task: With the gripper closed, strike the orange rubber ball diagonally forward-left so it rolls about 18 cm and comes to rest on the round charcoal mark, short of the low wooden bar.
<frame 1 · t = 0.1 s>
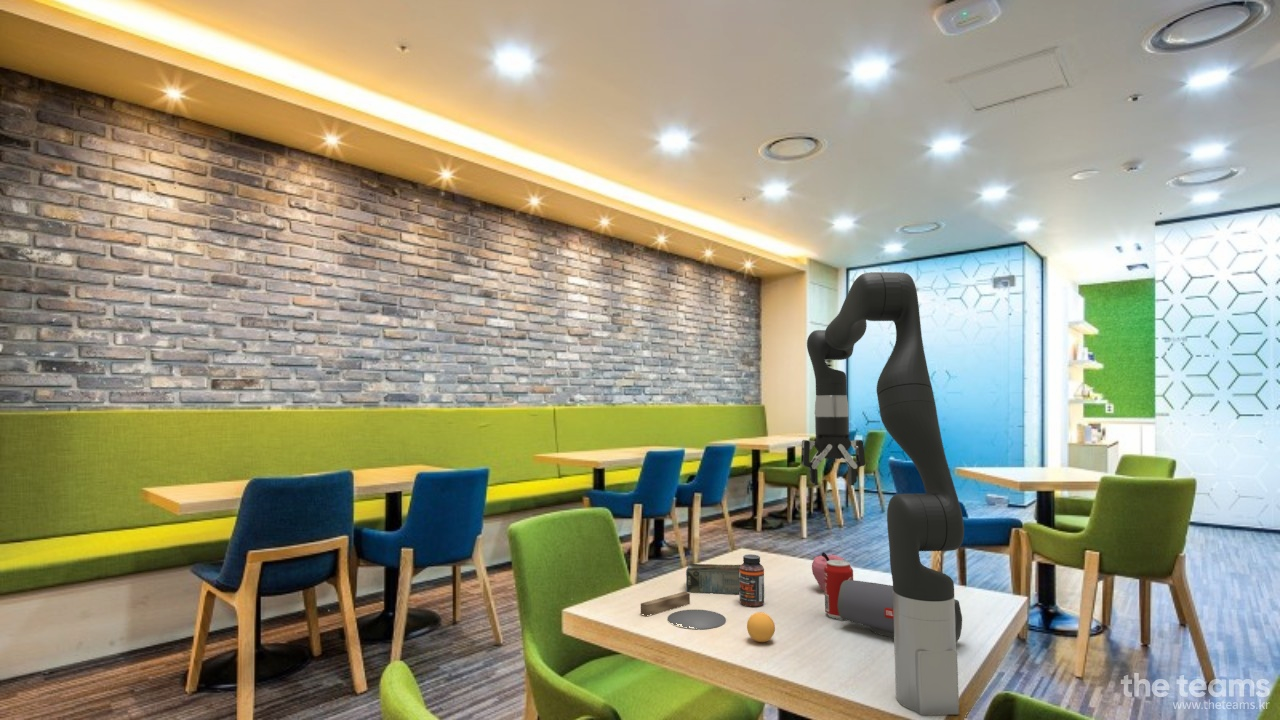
hand: (833, 485, 153), 29 cm above the table, tool pointing down, fingers open, 8 cm apart
mark: (696, 619, 147), on the table
ball: (760, 627, 134), on the table
bluetooth speaker: (898, 637, 136), on the table
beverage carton: (723, 591, 170), on the table
beverage can: (839, 617, 149), on the table
wooden bar: (665, 609, 155), on the table
supplement bottle: (751, 604, 159), on the table
apple: (829, 591, 169), on the table
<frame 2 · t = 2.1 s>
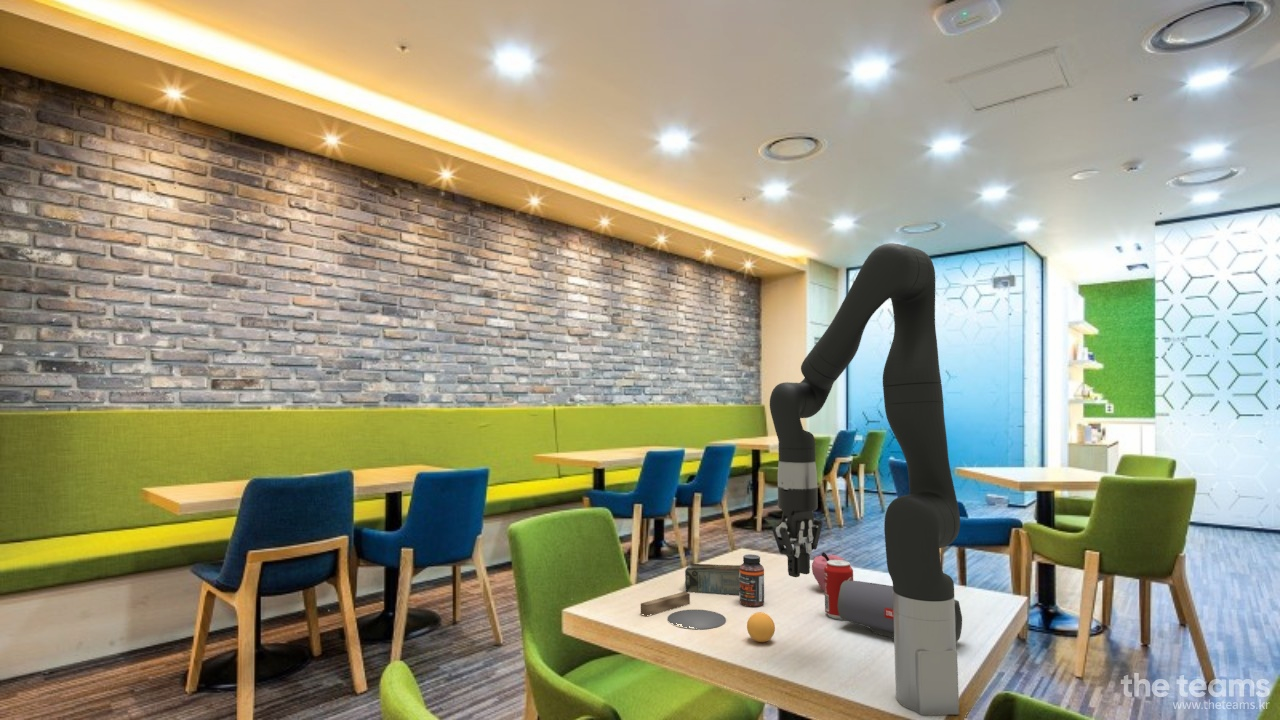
hand: (799, 574, 127), 15 cm above the table, tool pointing down, fingers closed
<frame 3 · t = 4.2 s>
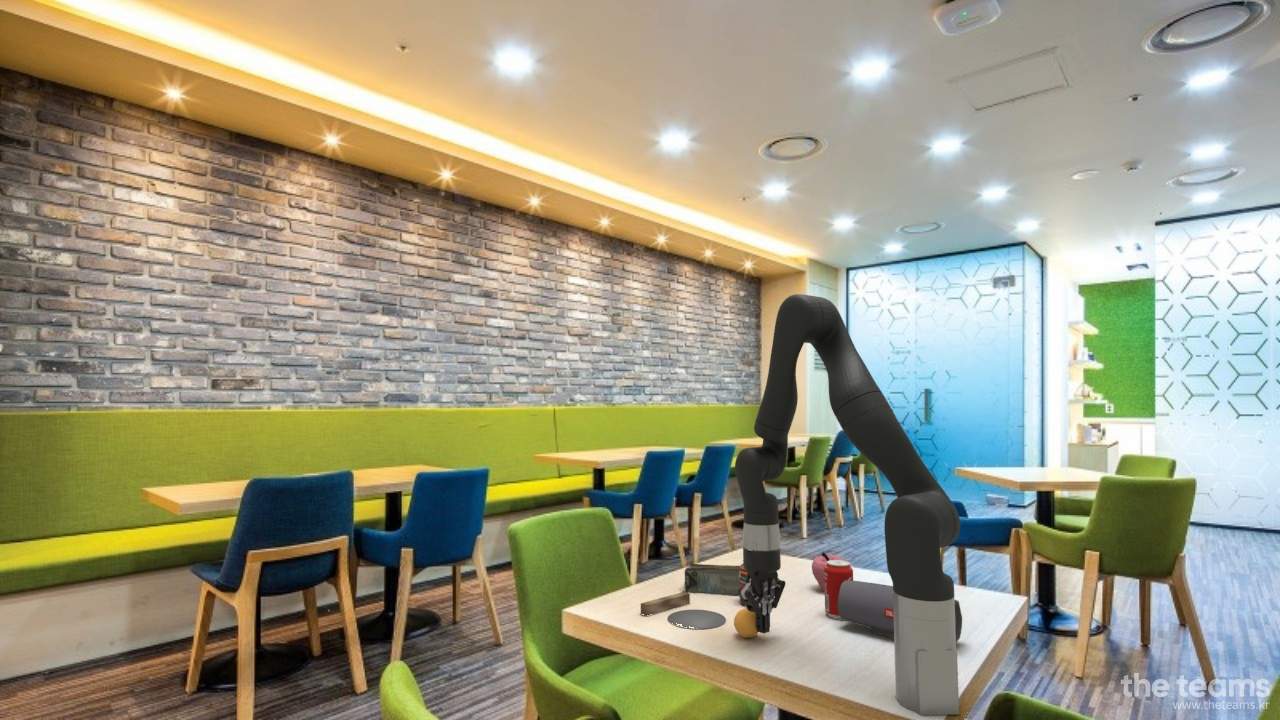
hand: (763, 631, 133), 2 cm above the table, tool pointing down, fingers closed
ball: (747, 622, 136), on the table, touching gripper
everything else where it was.
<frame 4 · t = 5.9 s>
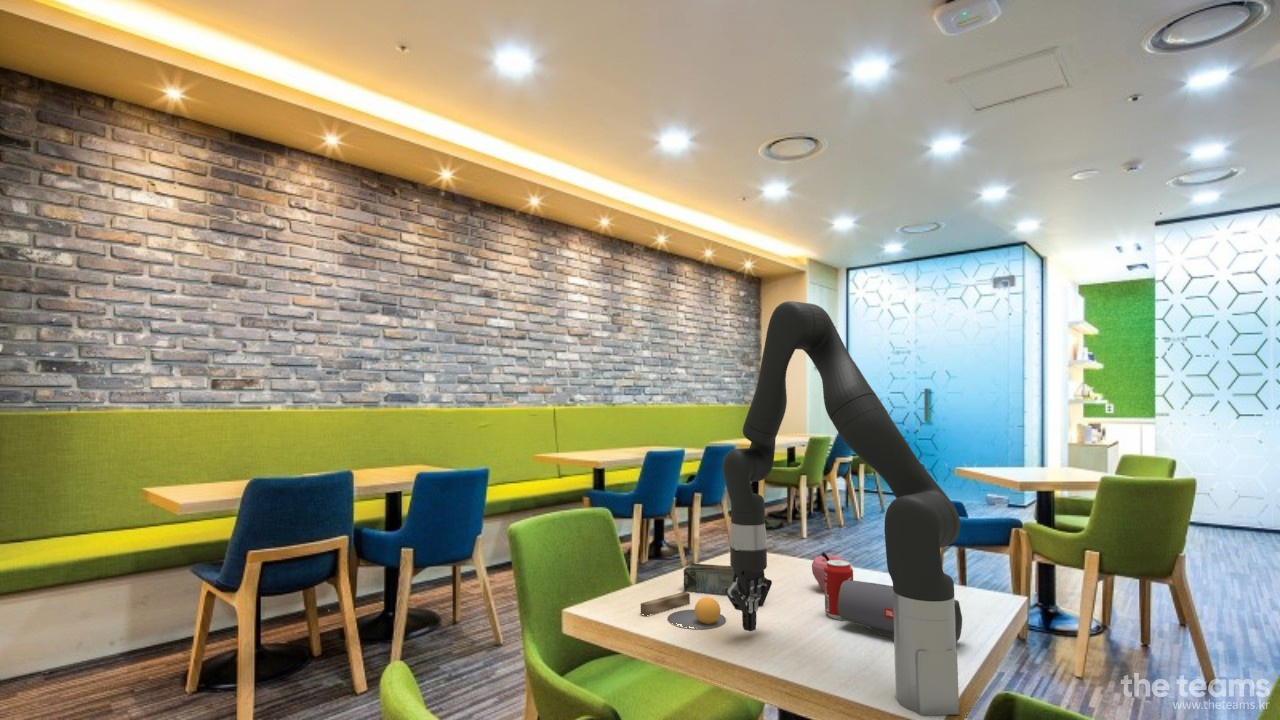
hand: (749, 629, 136), 2 cm above the table, tool pointing down, fingers closed
ball: (707, 610, 145), on the table
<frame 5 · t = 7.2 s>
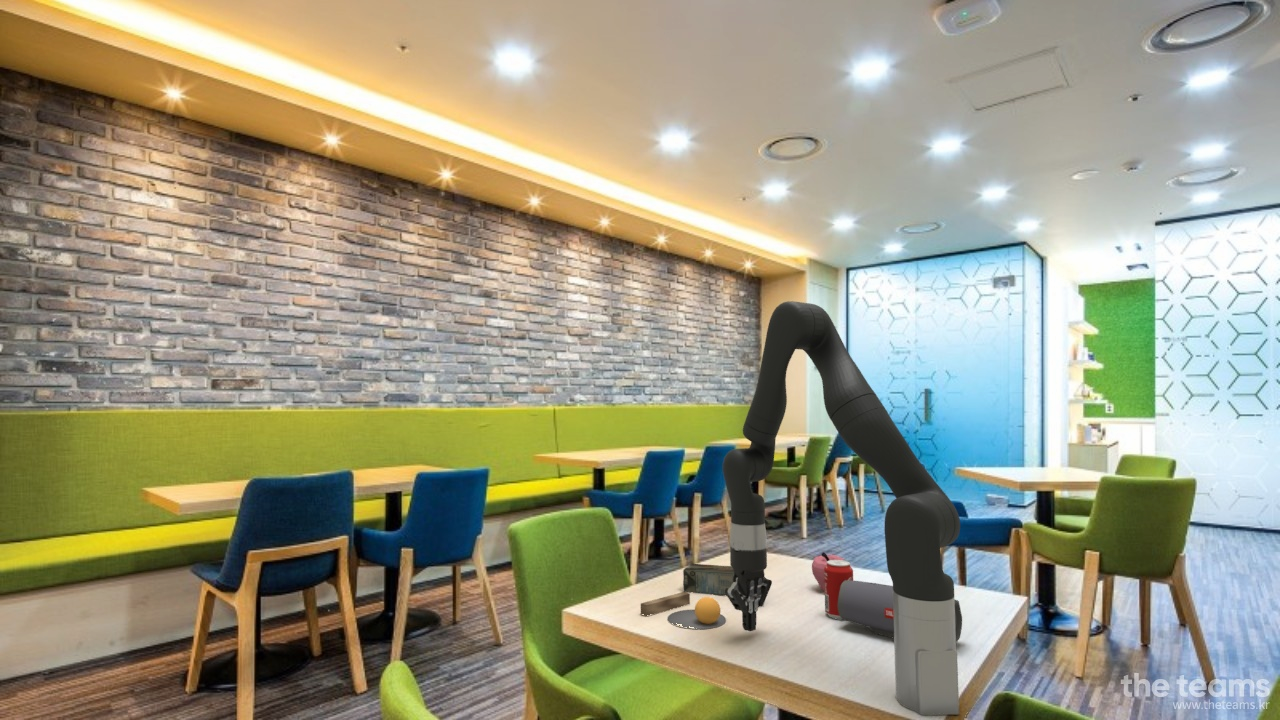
hand: (749, 629, 136), 2 cm above the table, tool pointing down, fingers closed
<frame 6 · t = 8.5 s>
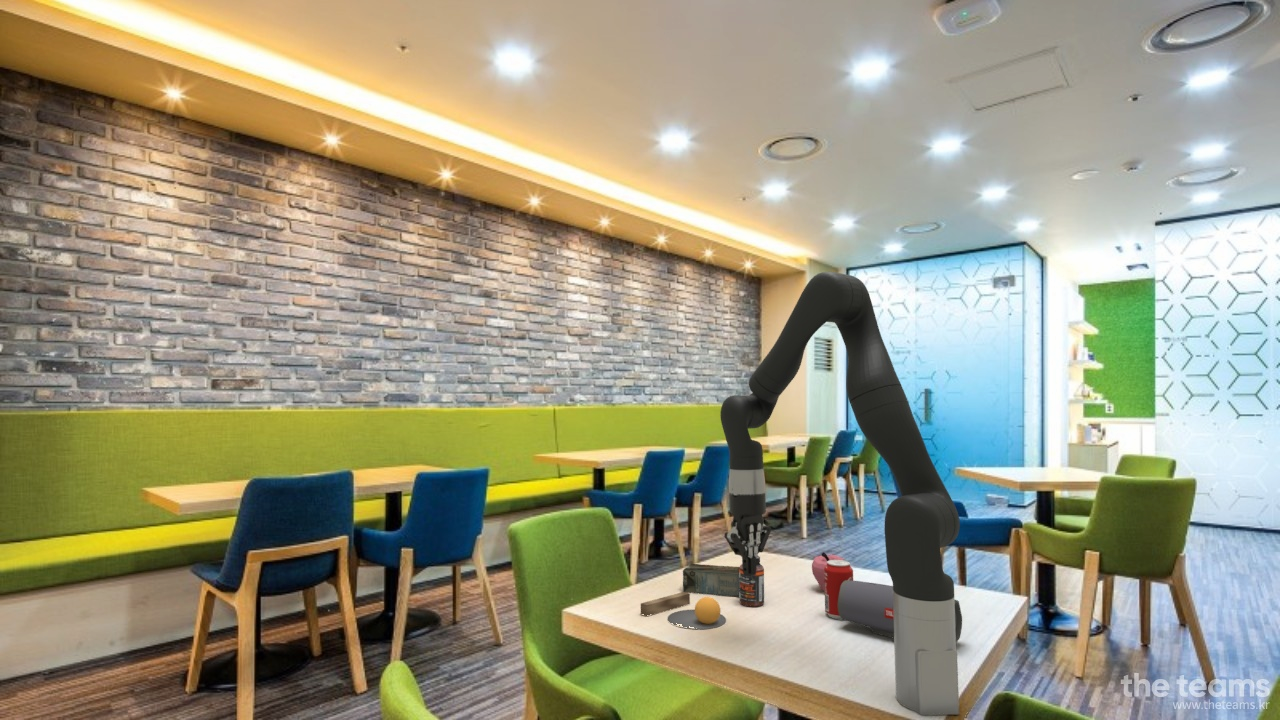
hand: (749, 575, 137), 13 cm above the table, tool pointing down, fingers closed
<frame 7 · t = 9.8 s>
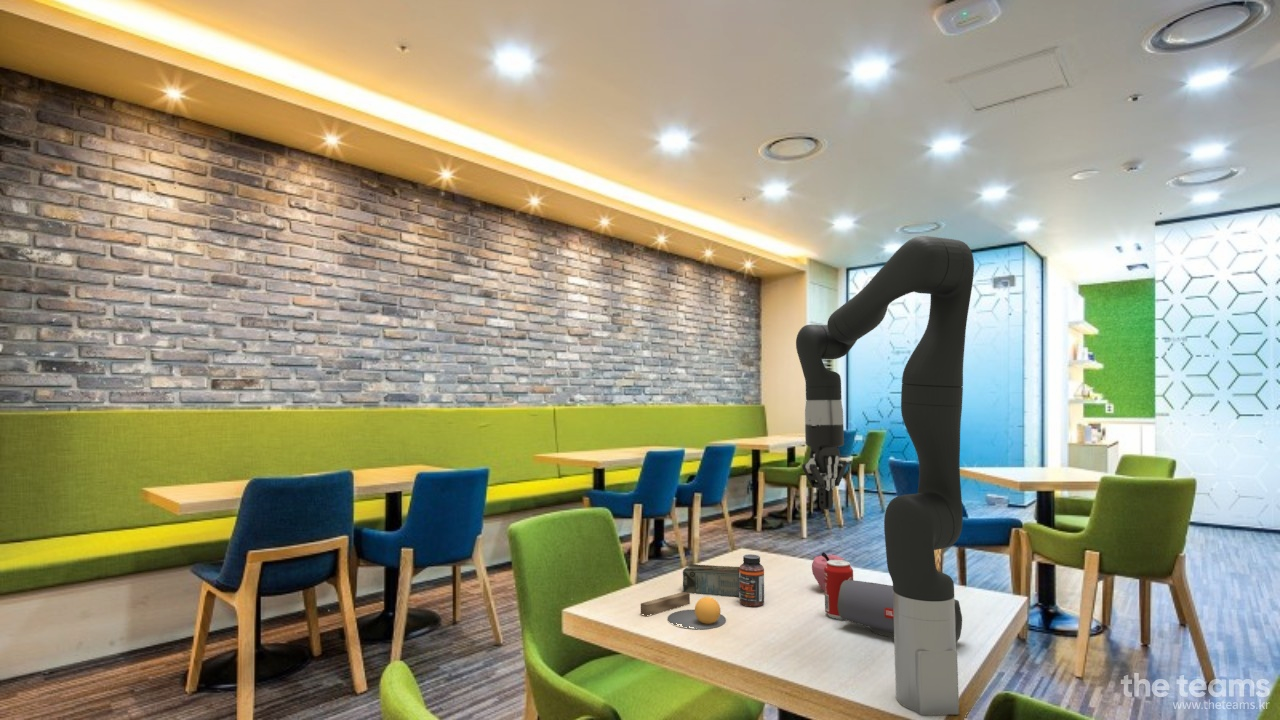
hand: (826, 508, 133), 27 cm above the table, tool pointing down, fingers closed
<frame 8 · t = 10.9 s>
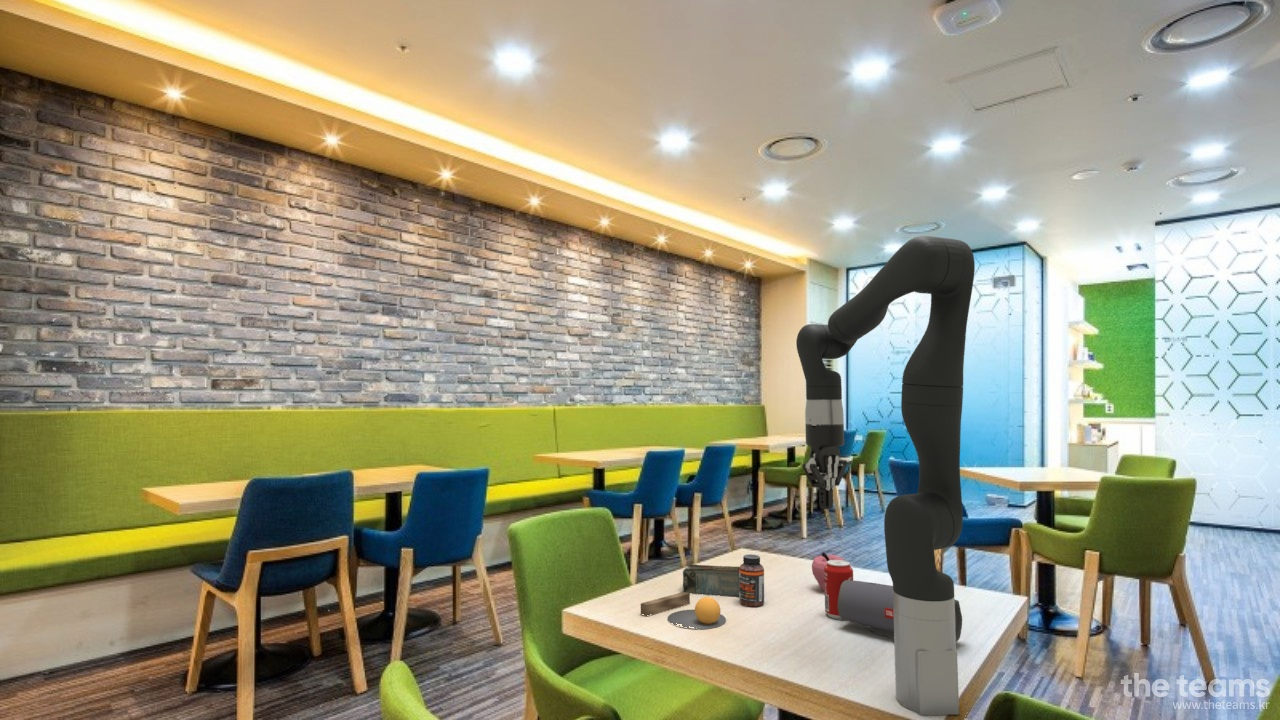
hand: (826, 508, 133), 27 cm above the table, tool pointing down, fingers closed
at the end: ball 3.5 cm from the mark (horizontally); ball at rest at the end (0.0 cm/s); ball moved 14.6 cm from its start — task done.
